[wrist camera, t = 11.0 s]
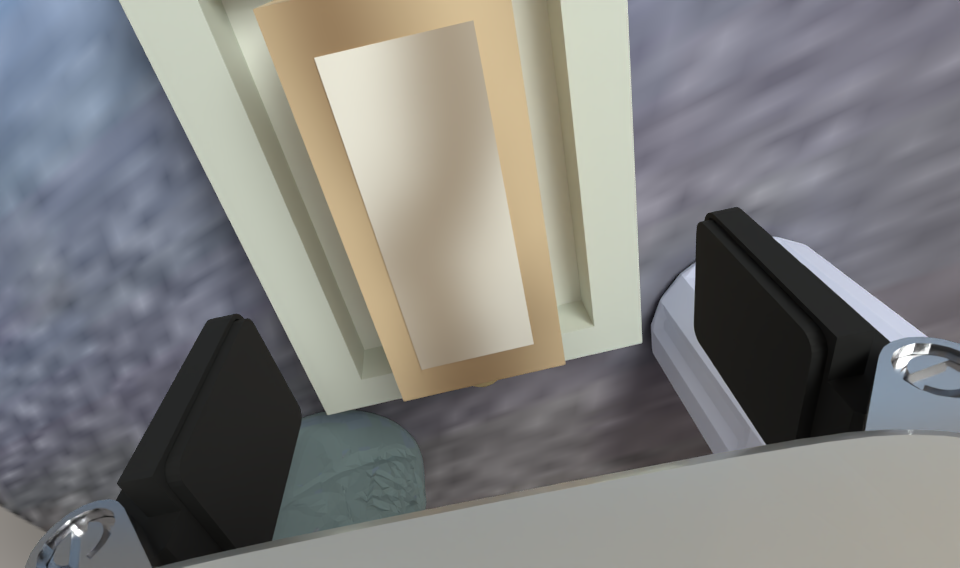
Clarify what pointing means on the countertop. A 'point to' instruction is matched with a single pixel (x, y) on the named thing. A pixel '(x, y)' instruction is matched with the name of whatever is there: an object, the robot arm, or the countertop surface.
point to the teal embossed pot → (350, 473)
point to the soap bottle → (700, 378)
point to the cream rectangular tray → (308, 220)
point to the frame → (427, 178)
